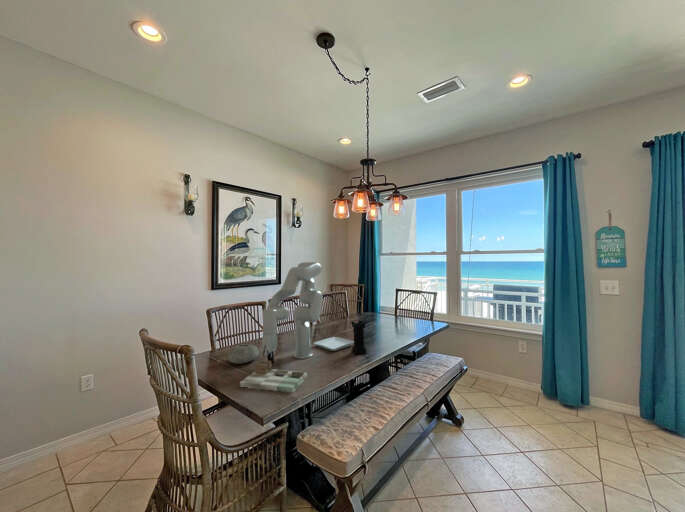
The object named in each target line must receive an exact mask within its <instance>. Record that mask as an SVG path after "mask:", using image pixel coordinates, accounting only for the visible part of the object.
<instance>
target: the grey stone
mask: <svg viewBox="0 0 685 512" xmlns="http://www.w3.org/2000/svg"><path fill="white" fill-rule="evenodd" d="M258 357H259V349H258V347H257V346H256V345H254V344H250V343H247V344H237V345H235V346H233V347H232V348H230V350H229V352H228V353H227V359H228V361H229V362H230V363H233V364H237V365H238V364H239V365H240V364H246V363H248V362H251V361H254V360H255V359H257V358H258Z"/></svg>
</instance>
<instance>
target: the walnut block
mask: <svg viewBox="0 0 685 512" xmlns="http://www.w3.org/2000/svg"><path fill="white" fill-rule="evenodd" d="M254 365H255V367H254V368H255V371H254V372H255V373H256V374H263V375H266V374H267V373H269V372H270V371H271V370H272V369H273V368H272V367H273V366H272V364H271V361H267V359H266V360H263V359H261V360H260V361H258V362H257V363H255V364H254Z"/></svg>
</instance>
